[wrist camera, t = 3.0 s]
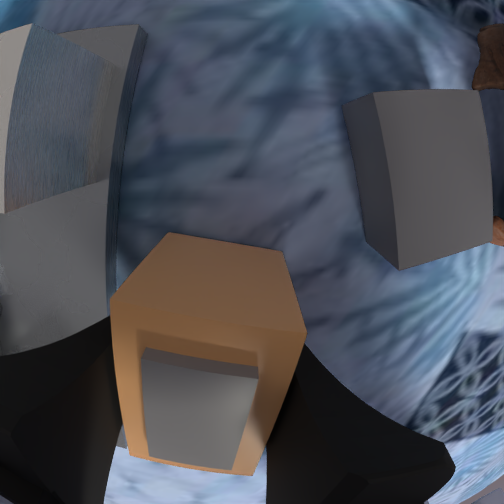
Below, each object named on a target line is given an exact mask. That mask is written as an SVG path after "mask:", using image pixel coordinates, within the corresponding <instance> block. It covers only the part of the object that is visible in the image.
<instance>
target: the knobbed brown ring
mask: <svg viewBox="0 0 504 504" xmlns="http://www.w3.org/2000/svg"><path fill="white" fill-rule="evenodd" d="M477 40H478V45H479V48H480V60H479V65H478V67H477V68H476V70H475V73H474V77H473V81H472V89H473V90H478V91H481V90H484V89H501V90H504V24H493V25H488V26H485V27H483V28H481V29H480V33H478V35H477ZM490 243H492V244H496V245H499V246H503V247H504V221H503V220H502V219H501V218H500V217H498V216H493V239H492V241H491V242H490Z"/></svg>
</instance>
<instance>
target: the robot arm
mask: <svg viewBox="0 0 504 504" xmlns="http://www.w3.org/2000/svg"><path fill="white" fill-rule="evenodd" d="M122 425H123V420H122V414H121V408H120V402H119V395H118V389H117V381H116V373H115V365H114V355H113V345H112V332H111V317H110V315H109V316H107V317H106V318H104V319H102V320H101V321H99V322H97V323H95V324H93V325H91V326H89V327H87V328H85V329H83V330H81V331H79V332H77V333H75V334H73V335H71V336H69V337H66V338H64V339H61V340H59V341H56V342H54V343H51V344H48V345H45V346H41V347H38V348H34V349H31V350H27V351H24V352H20V353H15V354H10V355H4V356H0V504H103V503H104V496H105V491H106V486H107V481H108V476H109V471H110V467H111V463H112V459H113V455H114V451H115V447H116V444H117V440H118V437H119V433H120V430H121V427H122ZM266 449H267V490H266V504H429V502H428V499H429V498H430V497H432V496H433V495H434V494H435V493H436V492H438V491H439V490H440V489H441V488H442V487H443V486H444V485H445V484H446V483H447V482H448V481H449V480H450V479H451V477H452V476H453V474H454V472H455V468H456V466H455V464H454V462H453V460H452V458H451V456H450V454H449V452H448V450H447V449H446V447H445V445H444V443H443V442H440V441H438V440H435V439H432V438H430V437H427V436H425V435H422V434H419V433H417V432H415V431H412V430H410V429H408V428H406V427H404V426H402V425H400V424H398V423H397V422H395V421H393V420H391V419H389V418H388V417H386V416H384V415H383V414H381V413H380V412H378V411H376V410H375V409H373V408H372V407H370V406H369V405H367V404H366V403H365V402H363V401H362V400H361V399H359V398H358V397H357V396H356V395H354V394H353V393H352V392H351V391H350V390H348V389H347V388H346V387H345V386H344V385H343V384H341V383H340V382H339V381H338V380H337V379H336V378H335V377H334V376H333V375H332V374H331V373H330V372H329V371H328V370H327V369H326V368H325V367H324V366H323V365H322V363H321V362H320V361H319V360H318V359H317V358H316V357H315V355H314V354H313V353H312V352H311V351H310V350H309V348H308V347H307V346H306V345H305V343H304V345H303V348H302V351H301V354H300V357H299V360H298V363H297V366H296V368H295V371H294V374H293V377H292V379H291V382H290V385H289V388H288V390H287V393H286V396H285V398H284V401H283V404H282V406H281V409H280V411H279V414H278V417H277V419H276V422H275V424H274V427H273V429H272V431H271V434H270V436H269V439H268V441H267V444H266ZM472 504H504V493H503V491H502V489H501V488H498V489H496V490H494V491H492V492H491V493H489V494H487V495H485V496H483V497H481V498H480V499H478V500H476V501H475V502H473V503H472Z"/></svg>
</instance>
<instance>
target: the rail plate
mask: <svg viewBox="0 0 504 504" xmlns="http://www.w3.org/2000/svg"><path fill="white" fill-rule="evenodd" d="M147 35H148V33H147V32H146V31H145V30H144V29H143V28H142V27H141V26H140V25H139V24H137V25H120V26H108V27H98V28H90V29H83V30H76V31H70V32H64V33H59V34H55V33H53V32H50V31H48V30H46V29H44V28H42V27H40V26H37V25H35V24H33V23H31V24H28V25H24V26H21V27H18V28H15V29H12V30H9V31H6V32H3V33H0V356H4V355H10V354H15V353H20V352H24V351H27V350H31V349H34V348H38V347H41V346H45V345H48V344H51V343H54V342H56V341H59V340H61V339H64V338H66V337H69V336H71V335H73V334H75V333H77V332H79V331H81V330H83V329H85V328H87V327H89V326H91V325H93V324H95V323H97V322H99V321H101V320H102V319H104V318H106V317H107V316H109V315H110V298H111V297H112V296H113V294H114V293H115V292H116V241H117V219H118V204H119V192H120V181H121V171H122V163H123V155H124V147H125V140H126V133H127V127H128V121H129V115H130V109H131V104H132V99H133V94H134V89H135V84H136V79H137V75H138V70H139V66H140V62H141V58H142V54H143V50H144V46H145V43H146V39H147ZM116 446H119V447H122V448H126V449H127V446H128V445H127V440H126V435H125V430H124V425H122V427H121V430H120V433H119V437H118V440H117V444H116Z"/></svg>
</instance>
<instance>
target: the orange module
mask: <svg viewBox="0 0 504 504" xmlns="http://www.w3.org/2000/svg"><path fill="white" fill-rule="evenodd" d="M110 317H111V332H112V345H113V355H114V365H115V373H116V381H117V389H118V395H119V402H120V408H121V414H122V420H123V425H124V430H125V435H126V440H127V445H128V449H129V454H130V455H131V456H134V457H138V458H142V459H146V460H150V461H154V462H159V463H163V464H168V465H173V466H178V467H184V468H189V469H195V470H202V471H209V472H216V473H225V474H234V475H246V476H253V474H254V471H255V469H256V467H257V465H258V462H259V460H260V458H261V455H262V453H263V451H264V448H265V446H266V444H267V441H268V439H269V436H270V434H271V431H272V429H273V427H274V424H275V422H276V419H277V417H278V414H279V411H280V409H281V406H282V404H283V401H284V398H285V396H286V393H287V390H288V388H289V385H290V382H291V379H292V377H293V374H294V371H295V368H296V366H297V363H298V360H299V357H300V354H301V351H302V348H303V345H304V342H305V339H306V336H307V330H306V327H305V323H304V320H303V317H302V314H301V310H300V307H299V304H298V300H297V297H296V294H295V291H294V287H293V284H292V281H291V278H290V275H289V271H288V268H287V265H286V262H285V259H284V256H283V253H282V251H277V250H271V249H265V248H260V247H254V246H248V245H242V244H236V243H230V242H224V241H219V240H213V239H207V238H201V237H195V236H189V235H183V234H177V233H171V232H168V233H167V234H166V235H165V236H164V237H163V238H162V240H161V241H160V242H159V243H158V244H157V245H156V246H155V247H154V248H153V249H152V251H151V252H150V253H149V254H148V255H147V256H146V257H145V258H144V260H143V261H142V262H141V263H140V264H139V265H138V266H137V268H136V269H135V270H134V271H133V272H132V273H131V274H130V276H129V277H128V278H127V279H126V280H125V281H124V283H123V284H122V285H121V286H120V287H119V289H118V290H117V291H116V292H115V293H114V294H113V296H112V297H111V298H110Z"/></svg>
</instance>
